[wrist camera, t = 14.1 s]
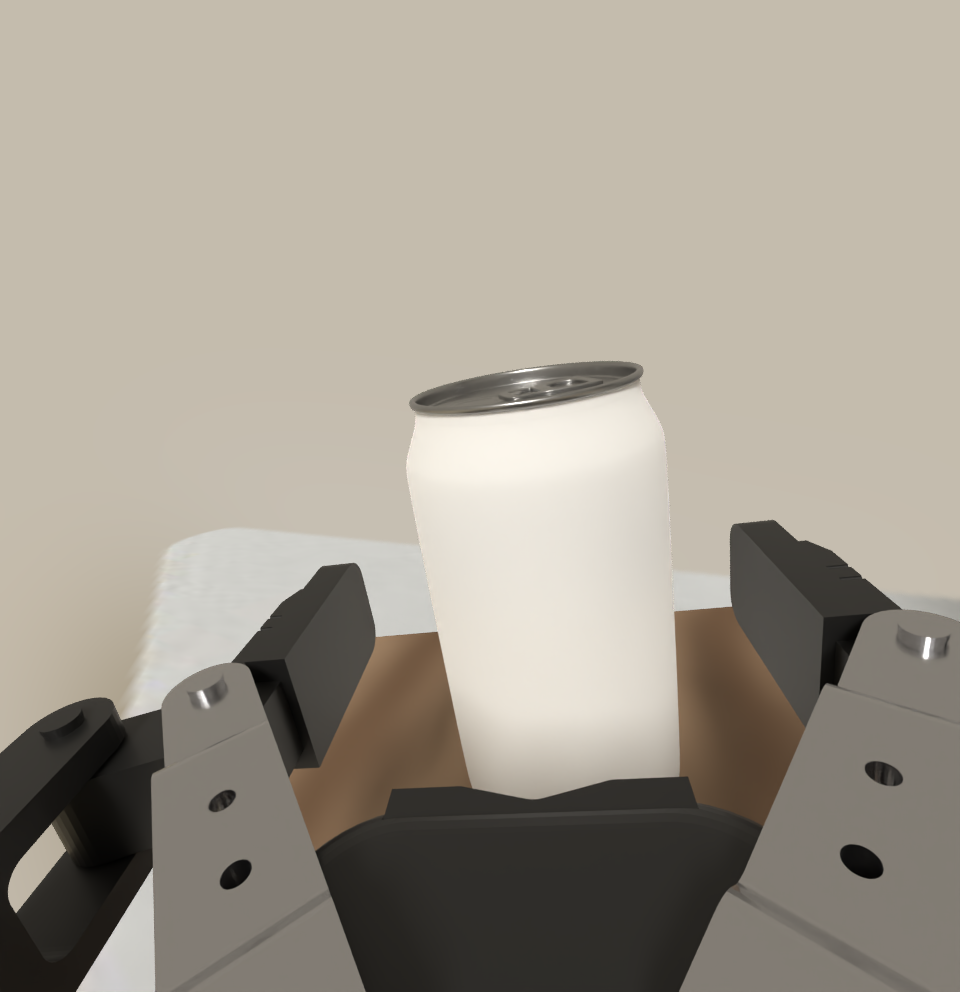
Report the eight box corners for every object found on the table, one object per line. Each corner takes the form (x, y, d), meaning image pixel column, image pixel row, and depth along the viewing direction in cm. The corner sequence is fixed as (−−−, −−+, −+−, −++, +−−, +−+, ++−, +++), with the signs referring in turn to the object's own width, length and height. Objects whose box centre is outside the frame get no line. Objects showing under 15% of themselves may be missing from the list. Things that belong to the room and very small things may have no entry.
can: (451, 726, 19) (380, 393, 15) (614, 674, 21) (586, 354, 17) (504, 903, 13) (409, 429, 9) (731, 814, 15) (728, 364, 11)
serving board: (789, 641, 24) (790, 601, 23) (1229, 1217, 9) (1268, 1150, 8) (358, 673, 27) (349, 639, 26) (134, 1156, 12) (98, 1102, 11)
